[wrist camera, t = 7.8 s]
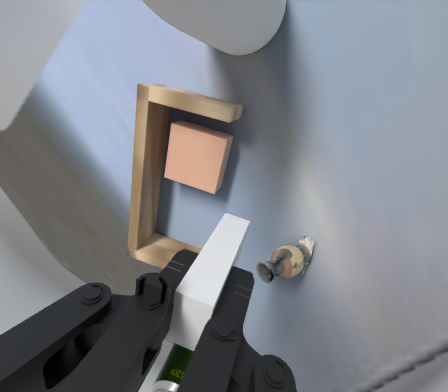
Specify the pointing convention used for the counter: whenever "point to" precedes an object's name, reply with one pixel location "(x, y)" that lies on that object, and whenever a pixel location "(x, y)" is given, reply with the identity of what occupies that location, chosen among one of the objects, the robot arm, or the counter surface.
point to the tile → (197, 156)
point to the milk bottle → (224, 21)
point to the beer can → (173, 369)
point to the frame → (160, 164)
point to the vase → (286, 261)
